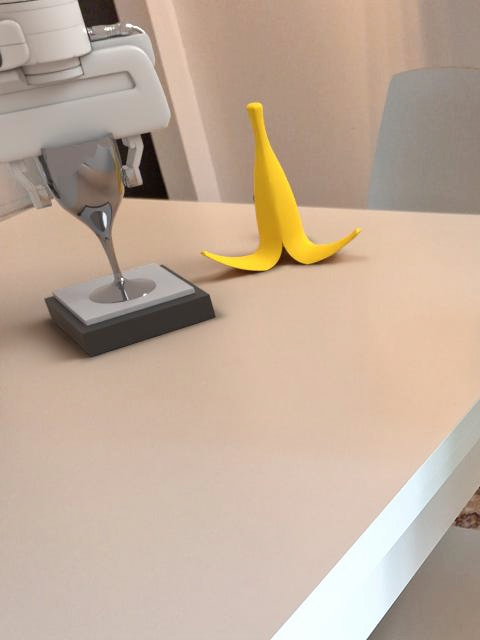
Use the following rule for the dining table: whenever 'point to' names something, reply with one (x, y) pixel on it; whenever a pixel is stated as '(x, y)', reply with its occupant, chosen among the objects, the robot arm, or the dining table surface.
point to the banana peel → (276, 212)
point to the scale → (128, 310)
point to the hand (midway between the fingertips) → (89, 195)
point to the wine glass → (93, 202)
